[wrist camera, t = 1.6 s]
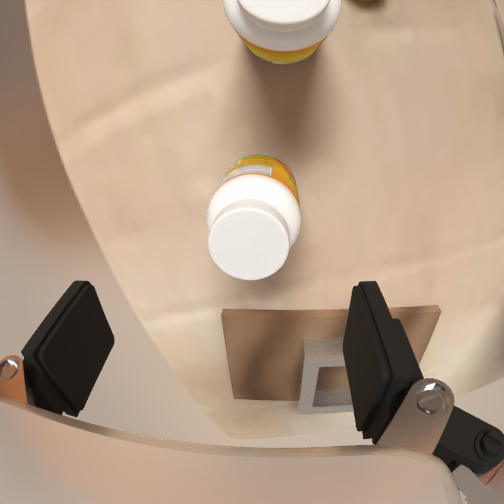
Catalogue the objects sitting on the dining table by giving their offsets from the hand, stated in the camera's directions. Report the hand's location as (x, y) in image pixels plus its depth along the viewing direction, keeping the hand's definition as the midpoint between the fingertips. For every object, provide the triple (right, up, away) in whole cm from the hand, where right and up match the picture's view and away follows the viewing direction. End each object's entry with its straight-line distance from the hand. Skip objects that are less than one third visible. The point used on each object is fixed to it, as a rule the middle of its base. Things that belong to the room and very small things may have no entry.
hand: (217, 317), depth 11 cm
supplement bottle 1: (+3, +18, +7) cm, 19 cm away
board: (+10, -9, +22) cm, 25 cm away
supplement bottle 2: (+2, +7, +13) cm, 15 cm away
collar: (+12, -11, +21) cm, 26 cm away
